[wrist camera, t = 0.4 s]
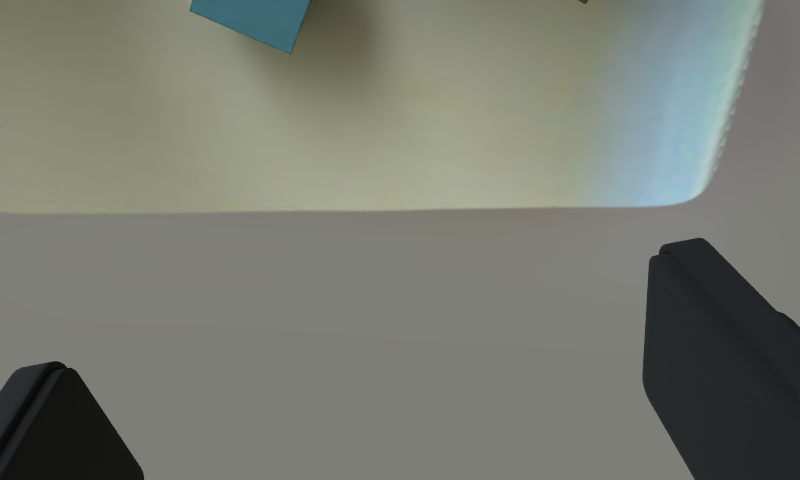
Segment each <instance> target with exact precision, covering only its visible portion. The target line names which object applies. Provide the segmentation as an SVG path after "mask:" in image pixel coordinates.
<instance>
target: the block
mask: <svg viewBox="0 0 800 480" xmlns="http://www.w3.org/2000/svg"><path fill="white" fill-rule="evenodd" d="M310 1H311V0H192V3H191V7H190V11H191V12H193V13H195V14H198V15H200V16H202V17H205V18H207V19H209V20H212V21H214V22H216V23H219V24H221V25H223V26H226V27H228V28H230V29H232V30H235V31H237V32H239V33H242V34H244V35H246V36H249V37H251V38H253V39H256V40H258V41H260V42H263V43H265V44H267V45H270V46H272V47H274V48H276V49H279V50H281V51H283V52H286V53H288V54H291V53H292V51H293V48H294V45H295V42H296V40H297V37H298V34H299V31H300V29H301V26H302V23H303V20H304V18H305V15H306V12H307V10H308V7H309V4H310Z"/></svg>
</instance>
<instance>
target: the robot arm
mask: <svg viewBox="0 0 800 480" xmlns="http://www.w3.org/2000/svg"><path fill="white" fill-rule="evenodd" d="M643 385H644V389H645V392H646V394H647V397H648V399H649V401H650V403H651V404H652V406H653V408H654V410H655V411H656V413H657V415H658V416H659V418H660V420H661V422H662V423H663V425H664V427H665V429H666V430H667V432H668V434H669V435H670V437H671V439H672V441H673V443H674V444H675V446H676V447H677V449H678V451H679V453H680V455H681V456H682V458H683V460H684V461H685V463H686V465H687V467H688V469H689V470H690V472H691V474H692V475H693V477H694V479H695V480H800V327H799V326H798V325H797V324H796V323H795V322H794V321H793V320H792V319H790V318H789V317H788V316H786V315H785V314H783V313H781V312H778V311H776V310H775V309H774V308H773V307H772V306H771V305H770V304H769V303H768V302H767V301H766V300H765V299H764V298H763V297H762V296H761V295H760V294H759V293H758V292H757V291H756V290H755V289H754V288H753V287H752V286H751V285H750V284H749V283H748V282H747V281H746V280H745V279H744V278H743V277H742V276H741V275H740V274H739V273H738V272H737V271H736V270H735V269H734V268H733V267H732V266H731V265H730V264H729V263H728V262H727V261H726V260H725V259H724V258H723V257H722V256H721V255H720V254H719V253H718V252H717V251H716V250H715V248H714V247H713V246H711V245H710V243H709V242H707V241H706V240H705V239H702V238H695V239H690V240H685V241H680V242H675V243H669V244H665V245H663V246H662V247H661V249H660V251H659V255H656V256H652V257H651V259H650V261H649V273H648V290H647V307H646V325H645V343H644V359H643ZM0 480H144V475H143V471H142V469H141V467H140V466H139V464H138V463H137V461H136V460H135V458H134V457H133V455H132V454H131V452H130V451H129V449H128V448H127V446H126V445H125V443H124V442H123V440H122V439H121V437H120V436H119V434H118V433H117V431H116V430H115V428H114V427H113V425H112V424H111V422H110V421H109V419H108V418H107V416H106V415H105V413H104V412H103V410H102V409H101V407H100V406H99V404H98V403H97V401H96V400H95V398H94V397H93V395H92V394H91V392H90V391H89V389H88V388H87V386H86V385H85V383H84V382H83V380H82V379H81V377H80V376H79V374H78V373H77V372H76V371H75V370H74V369H72V368H67V367H66V366H65V365H64V364H63V363H61V362H55V361H54V362H49V363H43V364H38V365H33V366H28V367H22V368H20V369H18V370H16V371H15V372H14V373H13V374H12V375H11V377H10V378H9V380H8V381H7V382H6V384H5V385H4V387H3V388H2V390H1V391H0Z"/></svg>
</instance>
